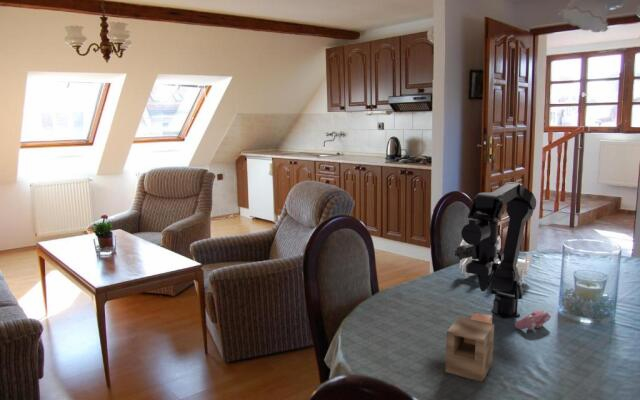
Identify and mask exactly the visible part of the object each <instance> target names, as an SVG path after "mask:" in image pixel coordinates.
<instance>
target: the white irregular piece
mask: <svg viewBox="0 0 640 400" xmlns="http://www.w3.org/2000/svg"><path fill="white" fill-rule="evenodd" d="M461 239H462V240H461V242H460V244H459V247H460V246H462V245H463V246H464V245H468V243H466V242H465V241H464V240H463V238H461ZM497 240H499V244H498V245H497V249H498V250H501V248H502V243H501V242H502V239H501V236H500V235H497ZM472 260H477V261H478V259H472V257H468V258H463V259H462V260H459V269H461V275H462V274H463V275H464V277H465V278H466V279H467V278H468V277H470V276H471V277H472V276H473V275H474V274H472V273H467V272H466V265H467V264H468V263H469V262H471V261H472ZM532 260H533V254H530V253H526V254H525V257H524V259H520V258H518V261H517V266H516V268H517V270H518V273H519V275H520V280H519V282H520V284H521V283H523V281H524V280H525V279H526V276H528V272H529V269H530V266H531V265H532ZM495 263H498V264H501V261H499V258H497V259H496V260H495ZM476 277H477V276H476ZM477 279H478V277H477Z"/></svg>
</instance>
